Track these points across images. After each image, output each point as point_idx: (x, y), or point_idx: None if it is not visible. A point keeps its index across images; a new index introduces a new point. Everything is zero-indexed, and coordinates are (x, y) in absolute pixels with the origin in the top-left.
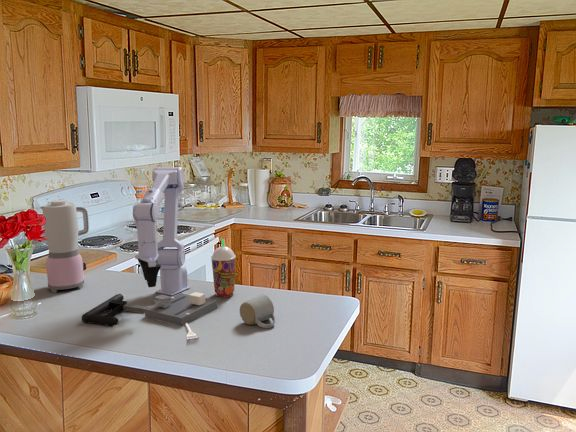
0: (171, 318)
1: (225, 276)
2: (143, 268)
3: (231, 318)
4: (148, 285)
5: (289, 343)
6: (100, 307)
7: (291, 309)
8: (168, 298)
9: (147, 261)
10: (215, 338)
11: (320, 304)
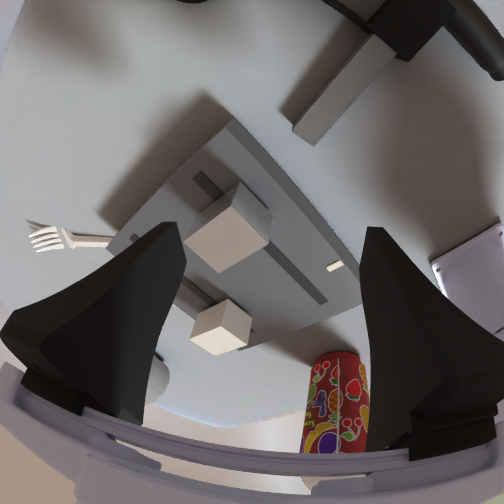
0: (131, 217)
1: (305, 417)
2: (7, 325)
3: (162, 330)
4: (153, 229)
5: None
6: None
7: (194, 392)
8: (206, 259)
9: (5, 410)
10: (62, 274)
11: (207, 411)
